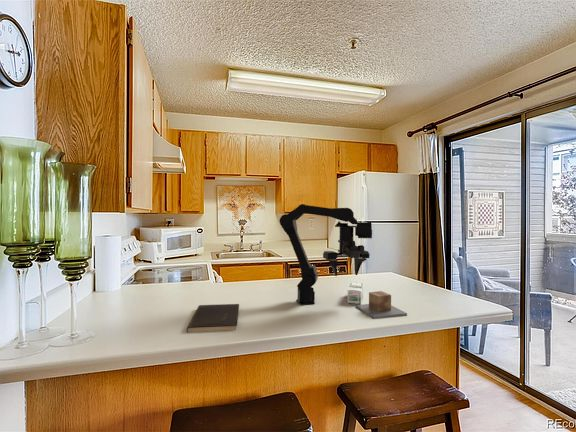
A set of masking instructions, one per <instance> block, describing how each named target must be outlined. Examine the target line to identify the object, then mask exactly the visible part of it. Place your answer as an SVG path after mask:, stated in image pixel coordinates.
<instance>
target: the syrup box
mask: <svg viewBox="0 0 576 432" xmlns="http://www.w3.org/2000/svg"><path fill="white" fill-rule="evenodd" d="M363 298H364V284H363V283H358V282H350V284H349V286H348V288H347V303H348V304H355V305H362V301H363Z"/></svg>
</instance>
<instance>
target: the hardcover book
mask: <svg viewBox="0 0 576 432" xmlns="http://www.w3.org/2000/svg"><path fill="white" fill-rule="evenodd" d="M239 307H240V304H239V303H229V304H227V303H226V304H225V303H223V304H200V305H198V306H197V308H196V311H195V312H194V313H193V316H192V318H191V320H190V322H189V323H188V325H187V328H186V333H195V332H197V333H199V332H217V331H236V330H237V326H238V321H239V320H238V319H239V310H240V308H239Z"/></svg>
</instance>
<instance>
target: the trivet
mask: <svg viewBox="0 0 576 432" xmlns="http://www.w3.org/2000/svg"><path fill="white" fill-rule="evenodd" d="M355 308H357V309H358V310H360V311H361V312H363V313H364V314H366V315H368V316H369V317H371V318H373V319H383V318H384V319H385V318H393V317H403V316H405V317H406V316H408V313H407V312H406V311H403V310H402V309H400V308H398V307H395V306H393V305H392V304H391V310H390V311H381V312H377V311H375V310H373V309H371V308H369V303H366V304H365V303H364V304H355Z"/></svg>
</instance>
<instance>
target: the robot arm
mask: <svg viewBox="0 0 576 432" xmlns="http://www.w3.org/2000/svg"><path fill="white" fill-rule="evenodd" d="M305 214H307V215H313V216H315V215H316V216H322V217H327V218H328V217H329V218H333V219H336V220H339V221H338V222H337V223H336V224H335V225H334V227H335V228H339V238H338V240H337V241H338V243H339V247H338V248H339V249H337V252H336V251H333V250H324V251H323V253H322V258H323V259H325V260H326V261H328V262H329V265H330V267H331V268H332V271H333V274H334V276H335V277H337V276H338V265H337V263H338V261H339V260H338V259H337V258H348V259H353V261H354V264H353V265H354V266H353V267H354V274H355V276H358V274H359V271H360V268H361V267H362V264H363V263H364V262H365V261H368V259H370V256H371V255H370V252H369V250H365V246H364V245H356V241H355V240H354V235H355V236H356V237H357V239H370V240H371V239H372V238H373V229H372V228H373V227H372V221H365V222H363V221H362V222H361V221H358V219H356V218H355V216H354V215H355V214H354V211H353V209H352V208H349V207H331V208H330V207H323V206H318V205H317V206H316V205H308V204H306V203H305V204H304V203H302V204H299V205H298V206H297V207H296V208H294V209H293V210H291V211H290V212H288V213H285V214H282V215H281V216H280V218H279V220H278V221H279V225H280V226H281V228H282V230H283V231H284V232H285V233H286V235H287V236H288V239H289V241H290V243H291V246H292V248H293V249H292V250H293V251H294V254H295V256H296V259H297V261H298V264H299V267H300V275H301V280H300V281H299V283H298V284H297V285H296V287H297V299H295V300H296V302H297V303H298V304H299V305H302V306H304V305H315V303H316V302H315V301H316V300H315V299H316V298H315V292H316V291H314V287H313V286H314V285H315V284H316V282H317V281H318V280H319V279H318V278H319V276H318V275H319V271H318V270H317V268H316V267H317V266H316V264H314V265H312V264H311V262H310V260H309V259H308V256H307V253H306V251H305V248H304V246H303V243H302V241H301V238H300V236H299V233H298V224H297V221H298V220H299V219H300V218H301V217H303V215H305ZM341 221H342V222H341ZM349 223H350V224H352V225H349ZM354 228H355V230H354Z"/></svg>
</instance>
